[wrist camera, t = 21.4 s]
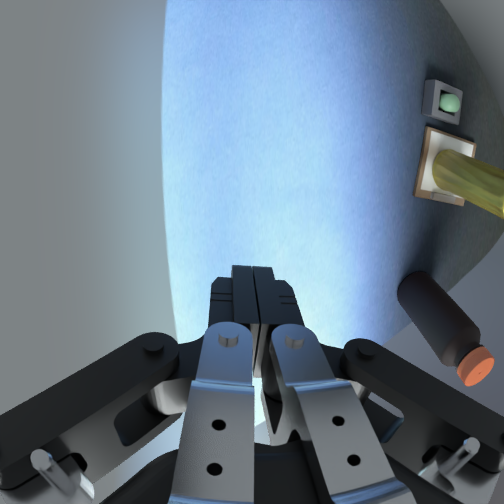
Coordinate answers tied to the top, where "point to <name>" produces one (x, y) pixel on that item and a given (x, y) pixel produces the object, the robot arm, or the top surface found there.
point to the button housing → (432, 101)
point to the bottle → (445, 327)
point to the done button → (449, 103)
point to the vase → (470, 180)
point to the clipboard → (430, 149)
